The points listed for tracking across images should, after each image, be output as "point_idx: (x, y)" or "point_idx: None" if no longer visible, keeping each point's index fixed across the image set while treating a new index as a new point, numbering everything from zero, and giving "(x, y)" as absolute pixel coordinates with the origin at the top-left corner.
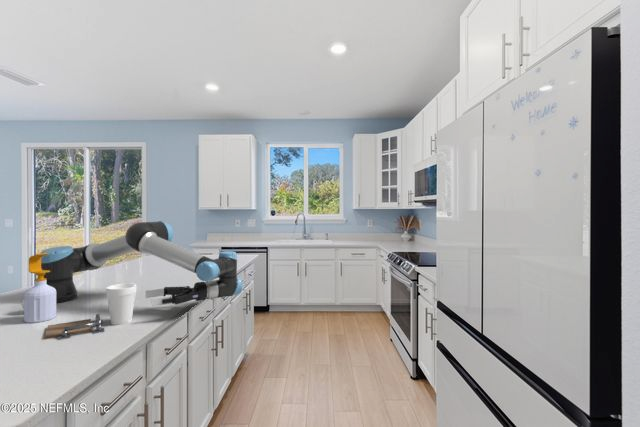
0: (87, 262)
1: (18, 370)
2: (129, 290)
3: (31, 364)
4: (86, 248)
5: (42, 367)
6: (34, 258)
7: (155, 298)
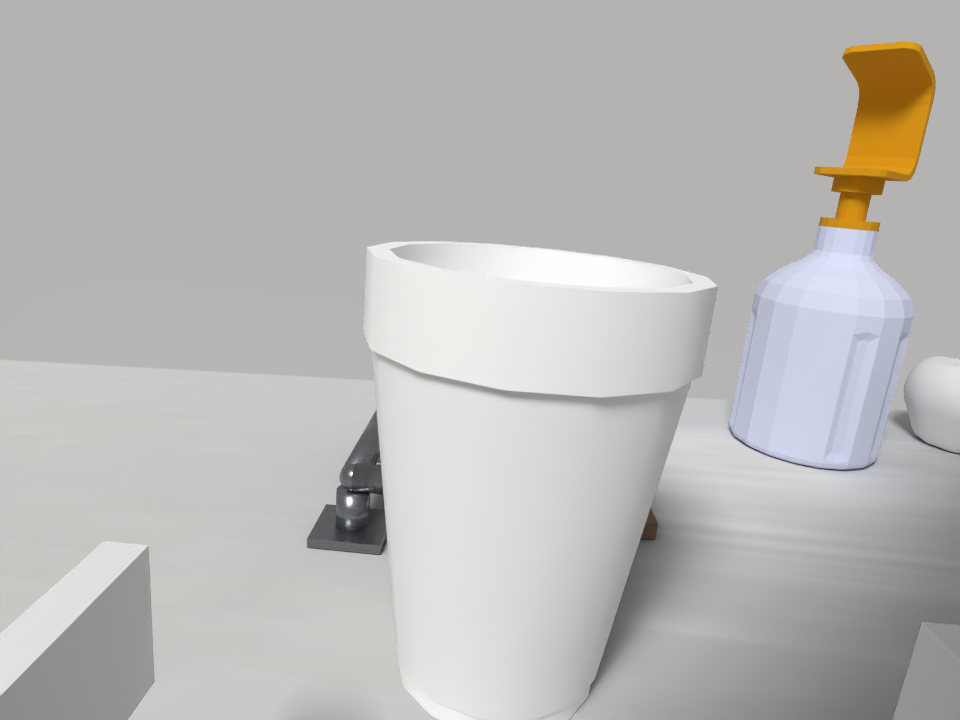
0: None
1: (115, 376)
2: (371, 293)
3: (131, 389)
4: None
5: (49, 395)
6: (885, 93)
7: (59, 581)
